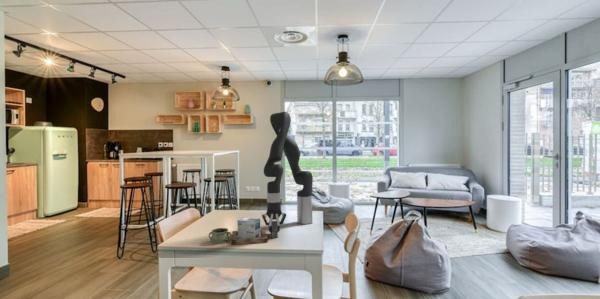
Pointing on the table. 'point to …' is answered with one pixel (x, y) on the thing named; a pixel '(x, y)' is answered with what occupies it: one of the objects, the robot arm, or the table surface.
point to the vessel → (220, 235)
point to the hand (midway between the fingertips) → (274, 232)
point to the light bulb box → (249, 228)
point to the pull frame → (257, 240)
